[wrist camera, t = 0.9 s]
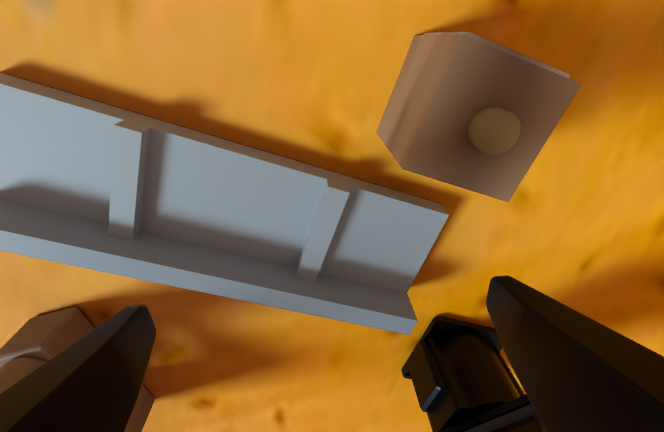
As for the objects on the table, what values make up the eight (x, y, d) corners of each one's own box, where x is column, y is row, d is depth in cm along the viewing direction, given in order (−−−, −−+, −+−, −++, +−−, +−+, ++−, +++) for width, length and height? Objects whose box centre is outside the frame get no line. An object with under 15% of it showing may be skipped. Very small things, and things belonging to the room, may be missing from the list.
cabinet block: (502, 65, 18) (601, 80, 12) (455, 158, 20) (518, 210, 14) (415, 30, 17) (475, 27, 11) (376, 131, 19) (407, 176, 13)
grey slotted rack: (440, 203, 21) (467, 237, 18) (394, 291, 24) (409, 335, 21) (-2, 72, 16) (-87, 82, 13) (10, 201, 19) (-56, 239, 16)
